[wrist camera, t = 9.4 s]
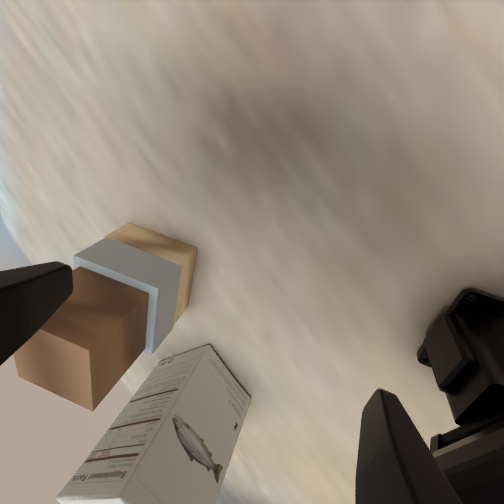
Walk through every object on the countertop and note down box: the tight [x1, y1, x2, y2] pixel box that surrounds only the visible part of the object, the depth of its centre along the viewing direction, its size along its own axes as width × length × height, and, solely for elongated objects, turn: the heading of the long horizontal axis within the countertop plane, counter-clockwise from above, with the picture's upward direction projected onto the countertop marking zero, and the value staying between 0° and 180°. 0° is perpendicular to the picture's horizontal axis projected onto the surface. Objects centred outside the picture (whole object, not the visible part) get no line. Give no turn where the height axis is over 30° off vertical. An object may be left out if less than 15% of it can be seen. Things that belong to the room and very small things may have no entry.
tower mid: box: [74, 237, 182, 355], centre depth 21 cm, size 6×6×3 cm
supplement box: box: [56, 345, 251, 504], centre depth 24 cm, size 7×7×13 cm
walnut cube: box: [13, 266, 149, 411], centre depth 18 cm, size 5×5×5 cm
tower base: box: [105, 223, 197, 324], centre depth 24 cm, size 6×6×3 cm
